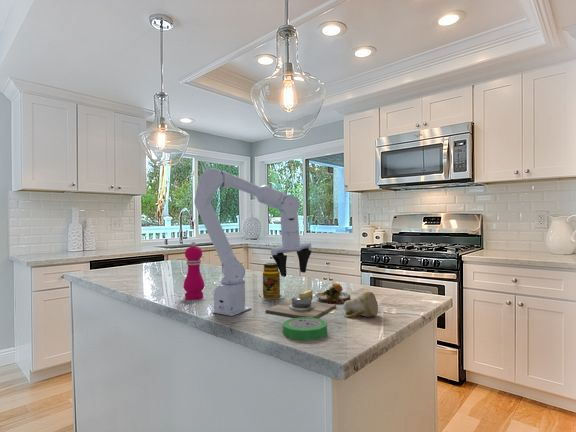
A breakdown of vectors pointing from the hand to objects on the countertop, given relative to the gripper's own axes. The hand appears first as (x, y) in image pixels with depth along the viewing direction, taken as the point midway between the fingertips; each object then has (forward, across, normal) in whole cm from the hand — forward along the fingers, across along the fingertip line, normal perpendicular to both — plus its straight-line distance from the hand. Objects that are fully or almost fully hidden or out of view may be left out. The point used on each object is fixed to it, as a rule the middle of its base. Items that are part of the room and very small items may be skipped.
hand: (293, 274), depth 119 cm
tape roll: (+10, -13, -23) cm, 28 cm away
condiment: (+10, 0, +15) cm, 18 cm away
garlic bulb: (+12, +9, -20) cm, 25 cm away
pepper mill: (+8, -23, +30) cm, 39 cm away
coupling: (+9, 0, -5) cm, 10 cm away
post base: (+10, -2, -5) cm, 12 cm away
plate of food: (+12, +15, -1) cm, 19 cm away
